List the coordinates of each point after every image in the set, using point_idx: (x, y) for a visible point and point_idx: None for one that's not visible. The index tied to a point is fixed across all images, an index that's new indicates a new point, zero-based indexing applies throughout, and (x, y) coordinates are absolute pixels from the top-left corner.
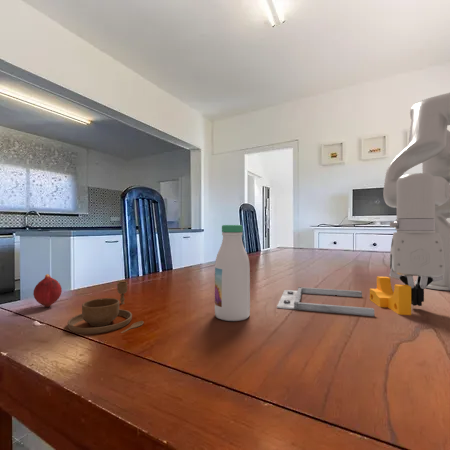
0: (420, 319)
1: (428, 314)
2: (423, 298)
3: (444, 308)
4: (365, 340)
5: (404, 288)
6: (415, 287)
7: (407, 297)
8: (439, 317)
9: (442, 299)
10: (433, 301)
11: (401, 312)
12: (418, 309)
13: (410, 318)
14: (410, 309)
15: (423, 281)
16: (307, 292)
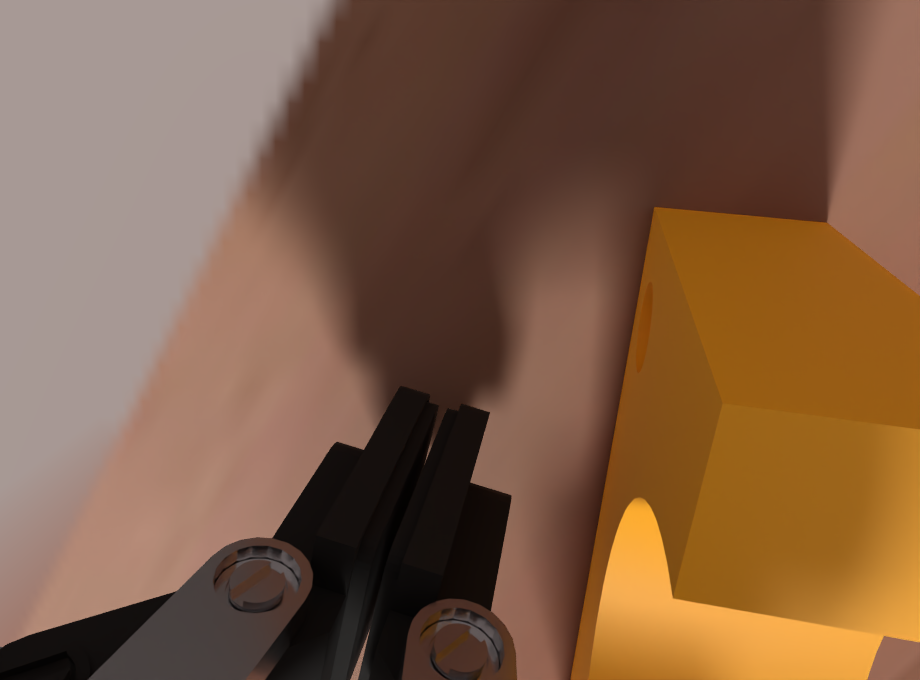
0: (661, 4)
1: (408, 238)
2: (328, 462)
3: (126, 441)
4: None
5: (903, 394)
6: (338, 664)
7: (762, 293)
8: (343, 119)
9: None
10: None
11: (796, 227)
12: None
13: (783, 44)
14: (670, 230)
15: (200, 663)
16: None
